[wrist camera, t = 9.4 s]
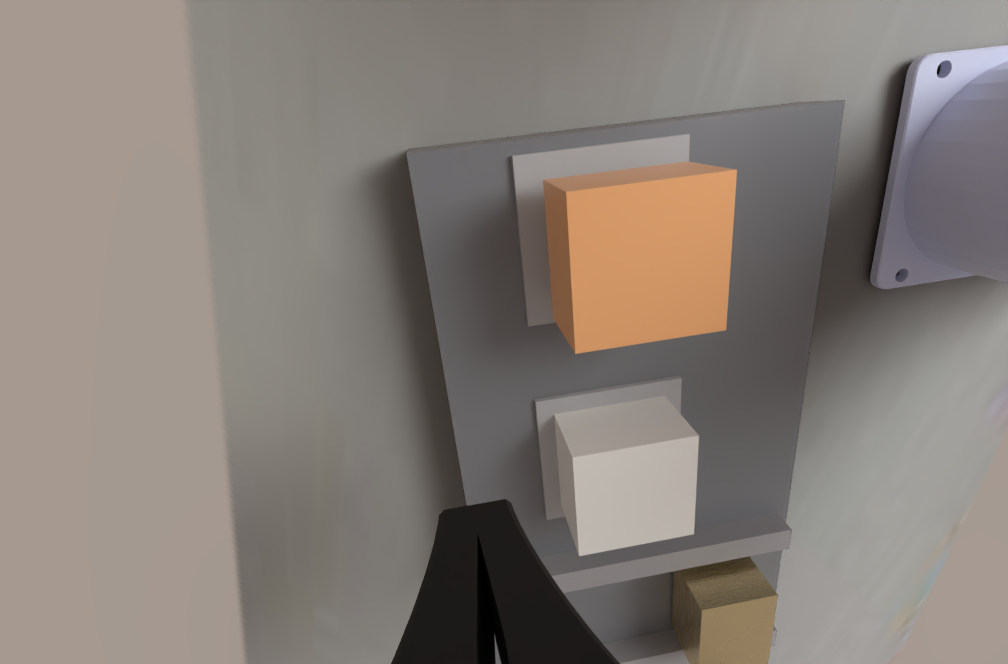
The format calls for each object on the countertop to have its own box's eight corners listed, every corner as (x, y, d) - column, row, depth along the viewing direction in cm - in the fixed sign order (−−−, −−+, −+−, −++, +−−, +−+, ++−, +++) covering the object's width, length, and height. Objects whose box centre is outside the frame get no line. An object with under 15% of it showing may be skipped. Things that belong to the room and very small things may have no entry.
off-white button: (664, 395, 18) (699, 435, 16) (663, 486, 20) (694, 534, 18) (553, 414, 18) (572, 457, 16) (561, 504, 19) (579, 556, 17)
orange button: (686, 161, 14) (736, 169, 12) (682, 299, 16) (726, 330, 13) (542, 180, 14) (566, 191, 11) (553, 318, 15) (575, 353, 13)
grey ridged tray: (800, 102, 17) (871, 99, 14) (744, 610, 27) (781, 666, 24) (408, 149, 16) (404, 155, 13) (495, 661, 26) (503, 727, 23)
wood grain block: (742, 546, 22) (777, 594, 20) (735, 613, 23) (767, 665, 21) (673, 560, 21) (701, 610, 19) (671, 626, 23) (697, 680, 21)
